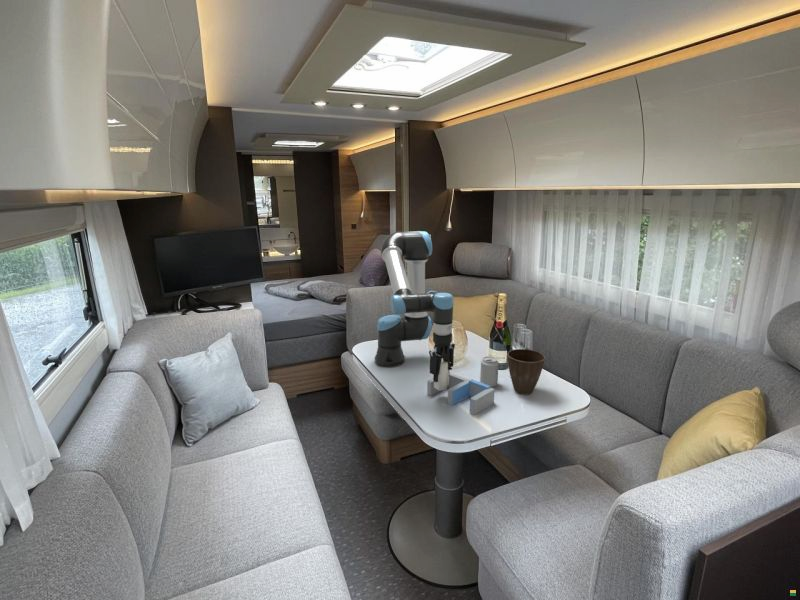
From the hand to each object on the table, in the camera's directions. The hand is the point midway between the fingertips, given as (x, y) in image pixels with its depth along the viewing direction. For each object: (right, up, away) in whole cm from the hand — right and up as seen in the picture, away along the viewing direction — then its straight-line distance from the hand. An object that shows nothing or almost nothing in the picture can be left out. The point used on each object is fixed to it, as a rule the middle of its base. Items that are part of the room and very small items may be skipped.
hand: (441, 386), depth 162 cm
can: (+22, -2, +13) cm, 26 cm away
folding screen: (+8, -5, 0) cm, 9 cm away
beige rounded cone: (0, -1, 0) cm, 1 cm away
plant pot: (+36, -3, +6) cm, 36 cm away
